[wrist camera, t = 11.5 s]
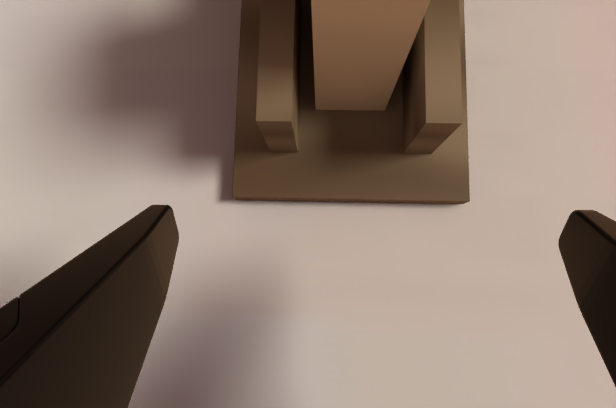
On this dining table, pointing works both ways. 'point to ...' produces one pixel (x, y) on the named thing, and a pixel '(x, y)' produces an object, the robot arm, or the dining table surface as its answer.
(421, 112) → the slot rack
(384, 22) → the tan rectangular block
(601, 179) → the dining table surface
